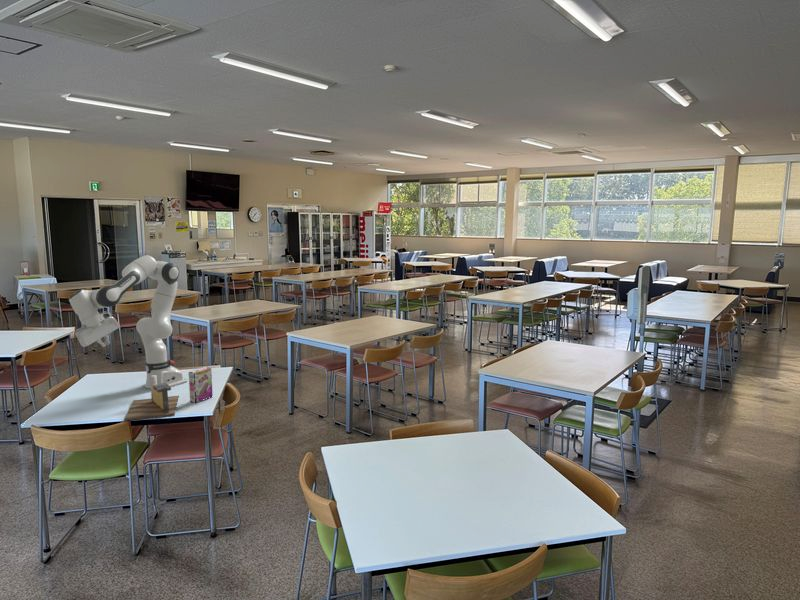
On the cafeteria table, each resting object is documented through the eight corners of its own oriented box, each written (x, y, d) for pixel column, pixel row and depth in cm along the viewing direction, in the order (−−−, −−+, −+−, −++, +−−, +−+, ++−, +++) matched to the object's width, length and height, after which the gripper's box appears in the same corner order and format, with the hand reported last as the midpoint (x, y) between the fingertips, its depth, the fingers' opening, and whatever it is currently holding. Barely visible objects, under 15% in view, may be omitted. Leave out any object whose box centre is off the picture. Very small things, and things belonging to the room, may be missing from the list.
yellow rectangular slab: (150, 400, 279) (148, 375, 277) (157, 398, 281) (155, 374, 279) (162, 410, 264) (160, 384, 262) (169, 408, 266) (167, 383, 264)
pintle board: (133, 402, 281) (131, 377, 278) (178, 397, 287) (176, 373, 285) (124, 421, 254) (121, 394, 252) (174, 415, 261) (172, 389, 259)
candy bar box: (196, 403, 278) (194, 373, 275) (189, 401, 280) (187, 371, 278) (213, 397, 287) (211, 367, 285) (207, 395, 290) (205, 366, 287)
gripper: (76, 330, 255) (91, 355, 260) (112, 311, 272) (126, 334, 276) (69, 332, 259) (85, 356, 263) (106, 312, 275) (119, 336, 279)
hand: (106, 345), depth 269 cm, fingers closed
